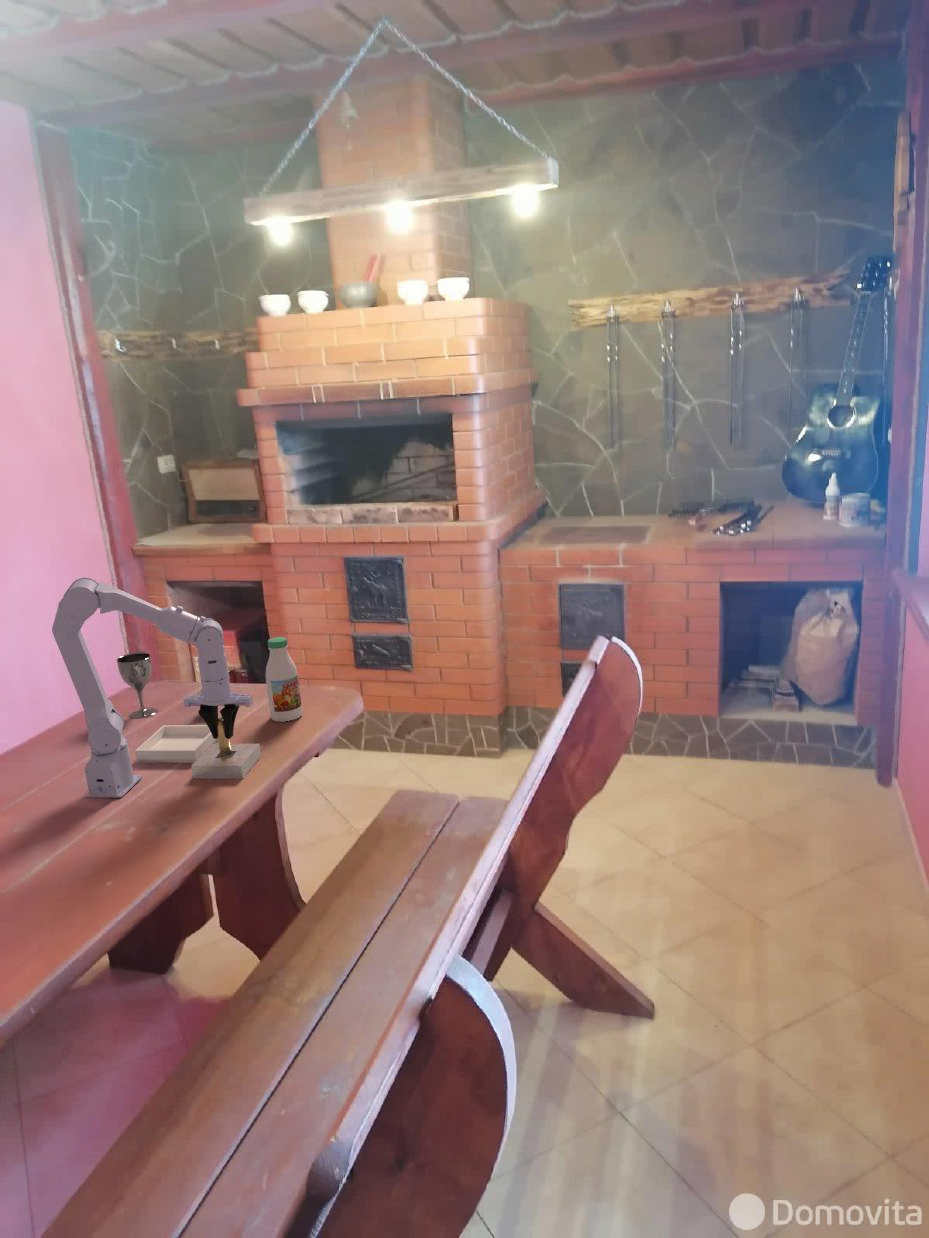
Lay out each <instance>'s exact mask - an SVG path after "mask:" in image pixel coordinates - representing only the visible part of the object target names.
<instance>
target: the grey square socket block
mask: <svg viewBox="0 0 929 1238" xmlns="http://www.w3.org/2000/svg"><path fill="white" fill-rule="evenodd" d="M260 745H261V744H260V743H230V746H231V753H232V754H231V755H229V756H226V757H222V756H220V750H219V744H218V743H215V744H211V745H210V747H209V748H208V749H207V750H206V751H205V752H204V753H203V754H202V755H201V756H200V757H199V758H198V759H197V760H196V761H195V762H194V763H191V772H192V773H191V774H192V777H193V779H194V780H195V779H199V780H201V779H203V780H205V779H206V780H207V779H210V780H213V779H214V780H215V779H216V780H218V779H220V780H221V779H222V780H223V779H225V780H226V779H227V780H228V779H233V780H239V779H240V780H243V779H244V778H245V777H246V776H247V775H246V774H248V773H249V772H250V771H251V770H250V769H252V768H253V767H254V766H255V765H256V764H257V762H258V761H259V759H260V758H261V757H262V753H261V746H260ZM260 756H261V757H260ZM257 760H258V761H257ZM254 764H255V765H254ZM249 770H250V771H249Z"/></svg>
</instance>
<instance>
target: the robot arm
mask: <svg viewBox="0 0 929 1238" xmlns="http://www.w3.org/2000/svg"><path fill="white" fill-rule="evenodd" d="M98 609H100V611H99V614H101V615H102V614H106V613H110V612H114V611H119V612H120V613H125V614H128V615H129V616H130V615H131V616H132V617H136V618H138V619H141V620H145V621H147V622H150V623H154V624H155V625H156V627H157V629H158V631H159V632H160V633H162V634H165V635H167V636H170V637H172V638H175V639H177V640H179V641H183V642H185V643H188V644H194V646H195V649H197V655H198V656H197V662H198V669H199V676H200V683H201V688H202V691H203V694H200V695H199V694H192V695H186V696H185V697H184V698H183V704H184V705H183V707H184V708H190V707H199V709H198V711H197V712H198V716H200V718H201V719H202V720H203V721H204V722H205V725H207V726H208V727H209V729H210V731H211V734H212V736H213V739H217V738H218V737H217V730H216V723H215V720H216V719H218V718H219V713H220V715H221V718H223V722H224V726H225V733H226V738H227V739H230V740H231V738H232V737H233V736H234V728H235V722H236V717H237V714H238V711H239V709H240V707H241V706H245V708H246V707H247V708H249V707H251V706H252V705H253V704H254V701H253V700H254V699H253V695H252V694H244V693H243V694H242V693H236V692H232V689H231V683H230V676H229V669H228V667H229V666H228V659H227V655H226V653H225V652H226V651H225V650H226V649H225V645H224V644H225V637H224V631H223V628H222V626H221V624H220V623H219V622H218V621H216V620H215V619H213V618H212V617H208V618H207V617H206V616H202V615H200V616H197V615H195V614H192V613H190V612H188V611H185V610H184V607H183V606H182V605H181V606H180V605H177V606H176V607H175V606H173V605H169V606H167V607H163V608H162V607H160V606H157V605H155V604H153V603H151V602H148V601H146V600H145V599H141V598H139V597H137V596H135V595H134V594H133V595H132V594H130V593H128V592H126V591H124V590H122V589H119V588H118V587H115V586H113V585H111V584H109V583H107V582H102V581H99V582H98V581H97V580H95V579H93V578H91V577H87V576H86V577H79V578H77V579H75V580H74V581H73V582H72V583H71V585H70V586H69V587H68V589H66V591H65V593H64V595H63V596H62V598H61V600H60V601H59V602H58V605H57V610H56V614H55V616H54V620H53V624H52V627H51V631H52V635H53V638H54V639H55V643H56V645H57V647H58V650H59V652H60V655H61V656H62V659H63V663H64V665H65V667H66V669H67V672H68V674H69V677H70V679H71V681H72V684H73V686H74V689H75V691H76V693H77V696H78V699H79V701H80V703H81V706H82V709H83V711H84V712H83V713H84V718H85V719H84V720H85V725H86V728H87V731H88V735H87V743H88V746H89V747H90V758H89V760H88V761H87V763H85V766H84V774H85V779H86V784H87V790H88V792H87V793H86V794H85V797H86V798H122V797H123V796H125V795H126V793H128V792H129V791H130V790H131V789H132V788H133V787H134V786H135V785H136V784H137V783H138V782H139V781H140V780H141V779H142V778H143V775H142V774H134V770H133V766H132V761H131V760H132V759H131V753H130V749H129V744H128V739H127V738H125V737H124V735H123V730H124V727H125V718H124V717H123V715H122V714H121V713H120V712H119V711H117V710H116V708H115V706H114V704H113V702H112V701H111V700H110V699H109V697H108V696H107V693H106V692H105V688H104V686H103V683H102V681H101V679H100V675H99V672H98V671H97V668H96V666H95V664H94V660H93V658H92V656H91V653H90V650H89V648H88V646H87V643H86V641H85V637H84V636H83V633H82V631H81V629H82V627H83V625H84V624H85V622H86V621H87V620H88V619H90V617H92V616H94V614H95V613H96V612H97V610H98ZM219 707H222V708H221V710H219Z"/></svg>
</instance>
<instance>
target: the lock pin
mask: <svg viewBox="0 0 929 1238" xmlns="http://www.w3.org/2000/svg"><path fill="white" fill-rule="evenodd" d="M215 723H216V730H217V737H218V741H217V742H218V743H217V744H219V750H220V756H222V757H226V756H229V755H231V754H232V753H231V746H230V744H231V741H230V740H231V738H230V739H227V738H226V733H225V726H224V722H223V718H222V717H218V719H216V720H215Z"/></svg>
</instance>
